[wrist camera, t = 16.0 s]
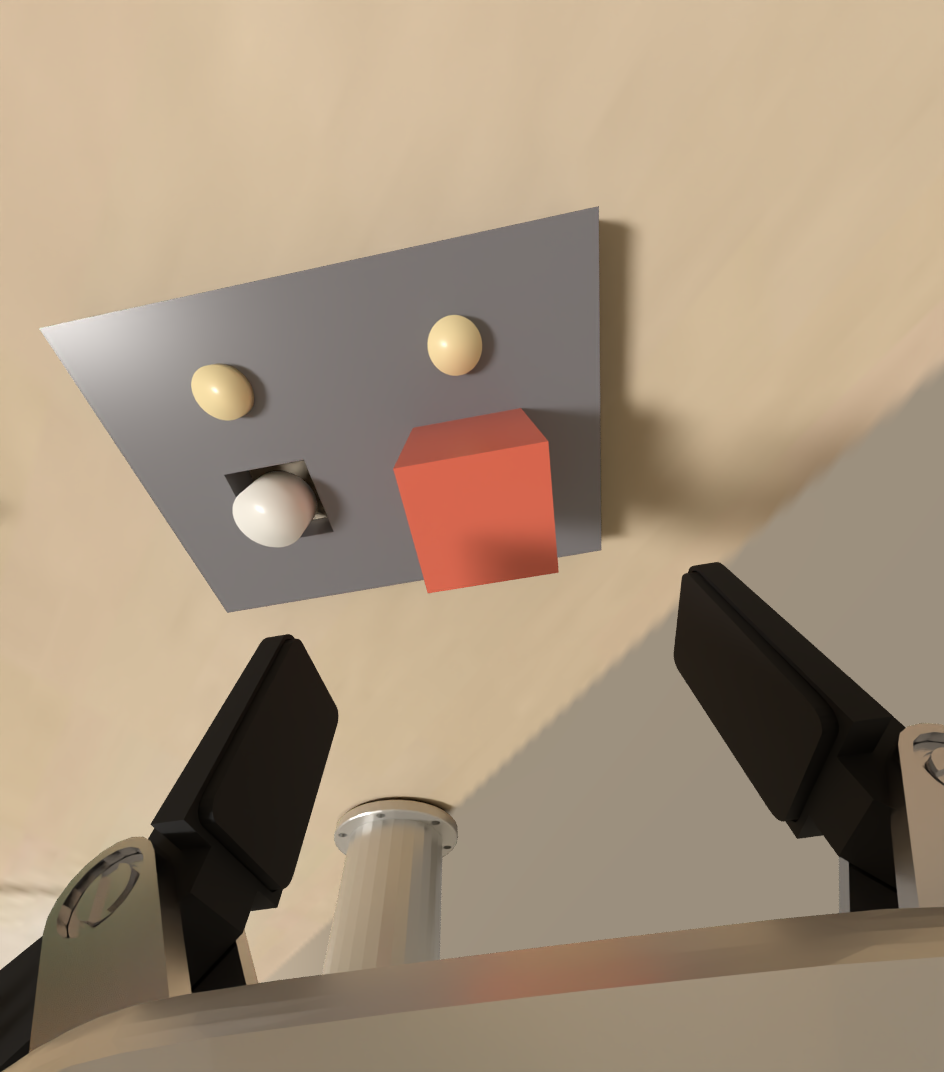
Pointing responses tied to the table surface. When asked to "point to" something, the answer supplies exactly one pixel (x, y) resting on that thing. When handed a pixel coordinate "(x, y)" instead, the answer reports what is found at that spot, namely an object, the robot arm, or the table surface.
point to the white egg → (275, 509)
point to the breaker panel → (350, 395)
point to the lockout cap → (479, 500)
